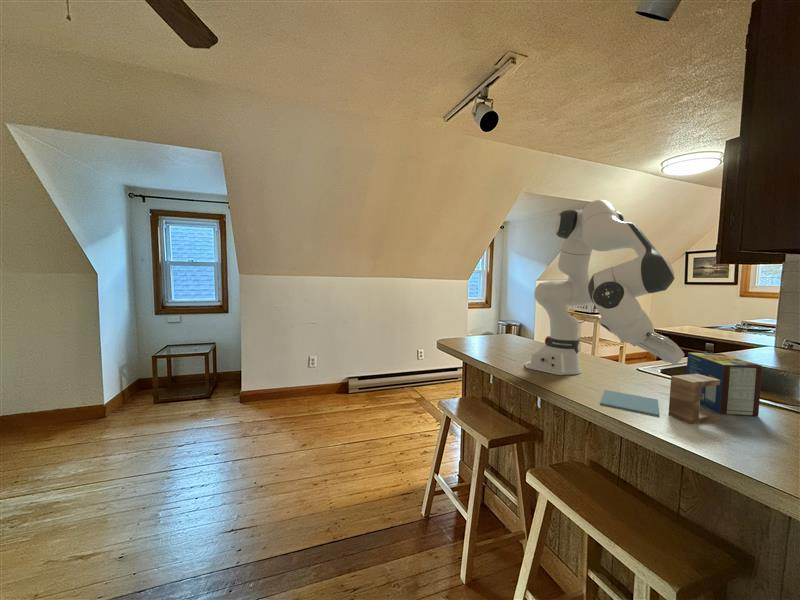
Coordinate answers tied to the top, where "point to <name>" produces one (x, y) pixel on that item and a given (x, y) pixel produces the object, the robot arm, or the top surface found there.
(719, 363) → the protein box
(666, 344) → the robot arm
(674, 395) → the brown block
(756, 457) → the top surface
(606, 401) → the rubber mat
